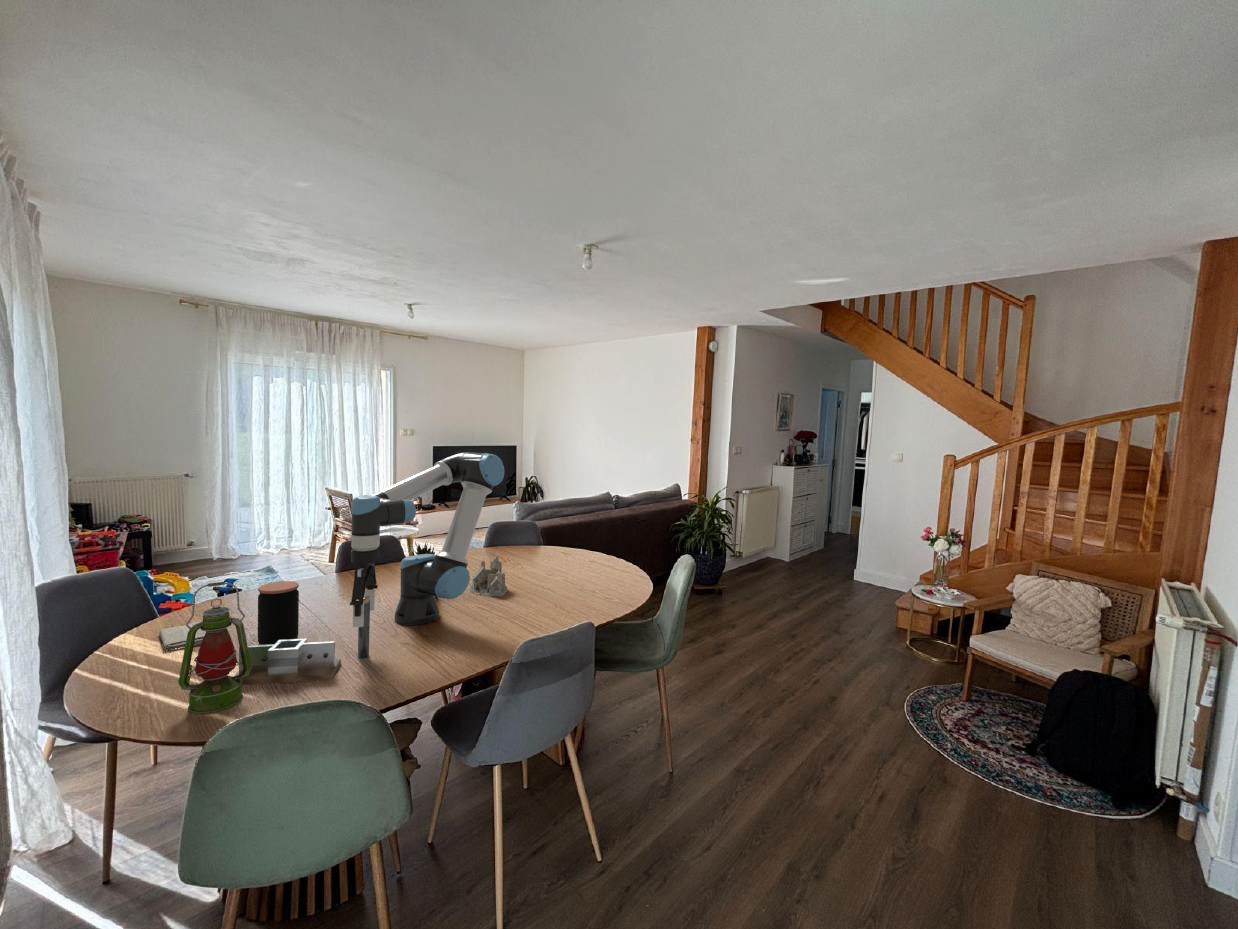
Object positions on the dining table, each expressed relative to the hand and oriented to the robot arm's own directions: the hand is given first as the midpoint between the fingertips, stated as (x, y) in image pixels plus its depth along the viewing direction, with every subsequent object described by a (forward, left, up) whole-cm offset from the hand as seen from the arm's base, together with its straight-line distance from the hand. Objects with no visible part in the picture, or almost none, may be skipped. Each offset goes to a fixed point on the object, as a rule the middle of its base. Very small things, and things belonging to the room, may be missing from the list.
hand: (364, 618), depth 150 cm
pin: (0, 0, -12) cm, 12 cm away
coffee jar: (+28, -15, -12) cm, 34 cm away
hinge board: (+17, +9, -12) cm, 23 cm away
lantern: (+28, +22, -12) cm, 38 cm away
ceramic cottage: (-36, -60, -12) cm, 71 cm away
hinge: (+17, +9, -10) cm, 22 cm away
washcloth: (+56, -22, -12) cm, 61 cm away
